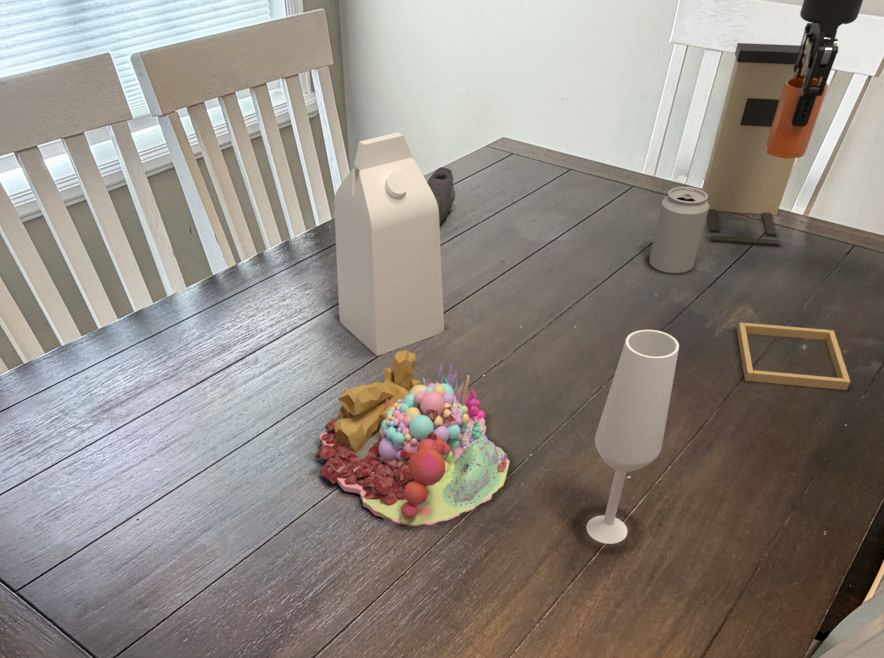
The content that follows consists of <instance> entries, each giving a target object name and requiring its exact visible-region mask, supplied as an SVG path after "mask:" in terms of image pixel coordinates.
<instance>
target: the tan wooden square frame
mask: <svg viewBox="0 0 884 658" xmlns="http://www.w3.org/2000/svg"><path fill="white" fill-rule="evenodd" d="M736 334H737V341H738V347H739V353H740V359H741V365H742V371H743V377H744V381H745V382H746V381H747V382H755V383H767V384H777V385H785V386H786V385H787V386H797V387H809V388H820V389H831V390H842V391H847V390H848V388H849V386H850V384H851V379H850V376H849V373H848V370H847V367H846V364H845V361H844V358H843V355H842V351H841V348H840V344H839V341H838V339H837V335H836V333H835V330H834V329H822V328H810V327H799V326H787V325H776V324H762V323H750V322H740V321H739V322H738V324H737V328H736ZM748 335H758V336H769V337H779V338H782V337H784V338H793V339H805V340H816V341H825V343H826V346H827V349H828V353H829V356H830V359H831V362H832V365H833V369H834V372H835V375H836V377H833V376H832V377H831V376H820V375H812V374H811V375H810V374H801V373H799V374H798V373H788V372H779V371H778V372H777V371H766V370H755V369H754V367H753V362H752V357H751V352H750V345H749V339H748Z"/></svg>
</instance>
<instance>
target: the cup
mask: <svg viewBox="0 0 884 658" xmlns="http://www.w3.org/2000/svg"><path fill="white" fill-rule="evenodd" d="M802 82H803V78H792V79H788V80H786V81H785V83H784V87H783V90H782V93H781V97H780V100H779V103H778V107H777V110H776V113H775V117H774V120H773V124H772V127H771V130H770V134H769V137H768V140H767V144H766V148H765V151H766V152H767V153H768V154H770V155H772V156H775V157H780V158H796V159H798V158H802V157H804V156H805V155H806V153H807V150H808V147H809V144H810V142H811V139H812V136H813V132H814V130H815V127H816V124H817V121H818V118H819V115H820V112H821V109H822V107H823V103H824V100H825V97H826V94H827V91H828V89H829V84H828V82H826V85H825V88H824V92H823V93H822V95H821V96H818V97H816V99H815V102H814V105H813V108H812V111H811V114H810V117H809V120H808V123H807V125H806V126H804V127H801V126H793V125H792V122H791V121H792V118H793V115H794V112H795V108H796V105H797V102H798V99H799V96H800V90H801V87H802ZM816 84H817V79H813V80H812V83H811V85H816Z"/></svg>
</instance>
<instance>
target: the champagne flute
mask: <svg viewBox="0 0 884 658" xmlns="http://www.w3.org/2000/svg"><path fill="white" fill-rule="evenodd" d="M679 351H680V343H679V342H678V340H677V339H676V338H675V337H674V336H672V335H671V334H669V333H667V332H664V331H661V330H656V329H640V330H636V331H633V332H631V333H629V334H628V335H627V337H626V338H625V341H624V344H623V347H622V350H621V353H620V357H619V359H618V362H617V367H616V370H615V372H614V375H613V378H612V382H611V384H610V388H609V390H608V391H609V392H608V395H607V397H606V401H605V404H604V408H603V410H602V413H601V417H600V419H599V423H598V427H597V428H596V432H595V435H594V445H595V448H596V451H597V454H598V455H599V456H600V458H601V459H602V461H603V462H604V463H605V464H606V465H607V466H609V467H610V468H612V469H613V470H615V471H614V475H613V479H612V483H611V488H610V492H609V496H608V500H607V505H606V509H605V512H604V514H603V515H602V514H601V515H596V516H594V517H592V518H590V519H589V520H588V521H587V523H586V532H587V534H588V535H589V537H590V538H592V539H593V540H594V541H596V542H599V543H602V544H607V545H612V544H619V543H620V542H623V540H625V539H626V537H627V536H628V528H627V525H626V524H625V523H624V521H622V520H621V519H619V518H617V517H616V516H617V512H618V508H619V504H620V501H621V496H622V492H623V489H624V485H625V480H626V476H627V473H632V472H634V471H638V470H641V469H643V468H645V467H647V466H648V465H650V464H651V463H653V462H654V461H655V460H656V459H657V458H658V457H659V455H660V453H661V451H662V448H663V444H664V439H665V438H664V437H665V431H666V427H667V420H668V415H669V408H670V403H671V397H672V396H671V395H672V391H673V386H674V379H675V373H676V367H677V362H678V356H679Z"/></svg>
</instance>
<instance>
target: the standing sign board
mask: <svg viewBox="0 0 884 658" xmlns="http://www.w3.org/2000/svg"><path fill="white" fill-rule="evenodd" d="M800 46H801V45H798V44H796V45H795V44H770V43H750V42H749V43H748V42H745V43H744V42H738V43H737V44H736V48H735V51H734V56H735V59H734V63H733V68H732V72H731V74H730V79H729V83H728V86H727V90H726V91H727V92H726V95H725V98H724V101H723V102H724V103H723V106H722V110H721V114H720V117H719V122H718V126H717V129H716V130H717V131H716V133H715V137H714V141H713V145H712V149H711V152H710V157H709V161H708V164H707V169H706V172H705V176H704V179H703V184H702V188H701V190H703V191H704V192H706V194H707V195H708V199H707V202H708V204H709V211H708V214H707V218H706V219H707V224H708V231H709V233H715V234H719V233H720V226H719V219H718V213H717V212H726V213H739V214H755V215H761V219H762V223H763V227H764V232H765V235H766V237H769V238H770V237H771V239H769V238H756V237H743V236H730V235H729V236H728V235H727V236H726V235H715V234H714V235H713V234H711V235H710V237H709V239H710V242H711V243H722V244H735V245H736V244H737V245H748V246H750V245H751V246H762V247H777V248H778V247H780V241H779V239H772V238H776V237H777V235H778V233H777V229H776V226H775V223H774V219H773V216H777V215H778V212H779V209H780V206H781V203H782V200H783V198H784V194H785V191H786V188H787V185H788V182H789V178H790V176H791V173H792V170H793V168H794V165H795V162H796V159H797V158H780V157H775V156H772V155H770V154H768V153H767V152H766V151H765V148H766V144H767V140H768V137H769V134H770V130H771V127H772V124H773V120H774V117H775V113H776V110H777V107H778V103H779V100H780V97H781V93H782V90H783V87H784V83H785V81H786V80H788V79H792V78H793V77H794V74H795V73H794V70H793V69H794V66H795V63H796V60H797V56H798V53H799V49H800ZM804 57H805V55H804ZM813 79H816V78H813Z"/></svg>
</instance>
